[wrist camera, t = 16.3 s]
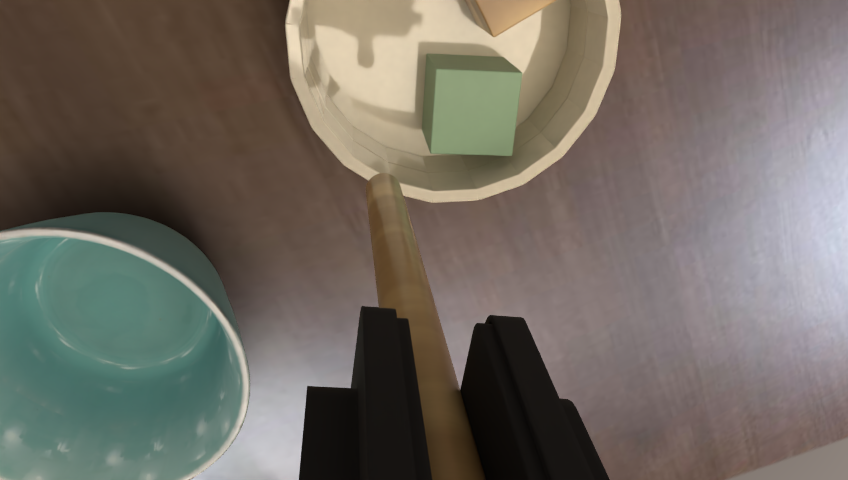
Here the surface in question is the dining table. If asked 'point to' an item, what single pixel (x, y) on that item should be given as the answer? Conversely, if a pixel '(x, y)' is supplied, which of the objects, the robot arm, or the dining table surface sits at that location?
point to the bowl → (114, 352)
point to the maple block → (503, 13)
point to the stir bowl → (405, 78)
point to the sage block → (470, 104)
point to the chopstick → (420, 332)
